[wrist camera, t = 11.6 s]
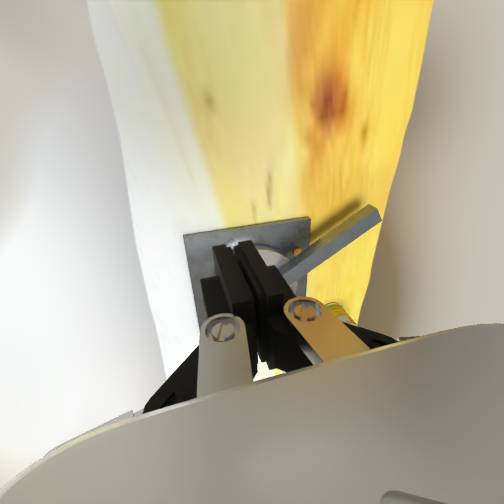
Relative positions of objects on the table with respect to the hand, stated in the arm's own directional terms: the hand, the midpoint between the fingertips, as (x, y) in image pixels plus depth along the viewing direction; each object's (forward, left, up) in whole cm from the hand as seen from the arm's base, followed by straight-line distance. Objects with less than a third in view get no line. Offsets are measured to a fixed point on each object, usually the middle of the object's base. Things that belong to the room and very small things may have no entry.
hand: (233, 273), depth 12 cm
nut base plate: (+21, +8, -29) cm, 37 cm away
